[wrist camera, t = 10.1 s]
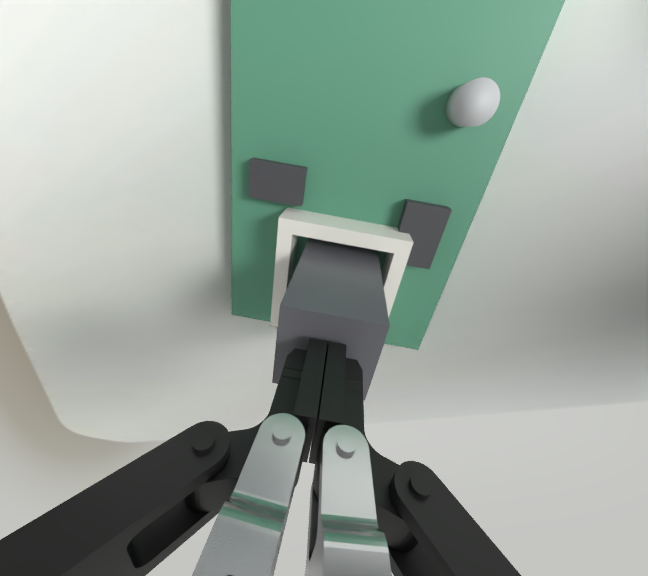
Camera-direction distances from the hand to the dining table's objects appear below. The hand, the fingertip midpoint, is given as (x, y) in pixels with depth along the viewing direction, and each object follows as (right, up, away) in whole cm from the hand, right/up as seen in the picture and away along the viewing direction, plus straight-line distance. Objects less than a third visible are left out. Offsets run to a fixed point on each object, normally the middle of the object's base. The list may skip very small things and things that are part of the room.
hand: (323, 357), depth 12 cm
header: (+1, +4, +7) cm, 8 cm away
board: (+2, +10, +5) cm, 12 cm away
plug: (+1, +4, +7) cm, 8 cm away
